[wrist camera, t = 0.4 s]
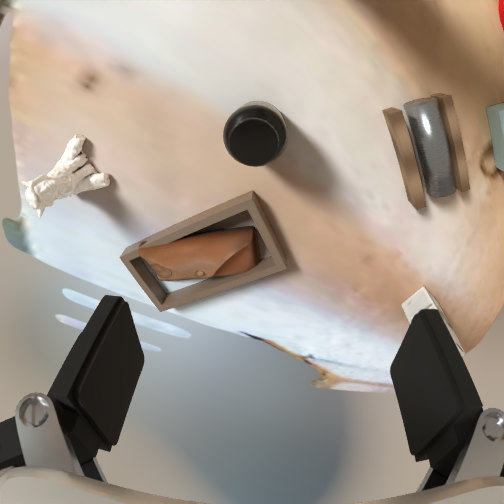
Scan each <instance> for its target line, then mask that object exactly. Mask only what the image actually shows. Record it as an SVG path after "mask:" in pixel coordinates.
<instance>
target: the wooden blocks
mask: <svg viewBox="0 0 504 504" xmlns="http://www.w3.org/2000/svg"><path fill="white" fill-rule="evenodd" d="M431 98H436V99H437V101H438V104H439V108H440V112H441V115H442V119H443V123H444V127H445V131H446V135H447V140H448V144H449V149H450V154H451V159H452V164H453V169H454V175H455V181H456V187H457V188H458V189H459V190H460V191H461V192H464V191H467V190H469V189H470V185H469V178H468V171H467V165H466V159H465V153H464V148H463V143H462V138H461V133H460V129H459V124H458V120H457V116H456V112H455V108H454V104H453V100H452V97H451V96H450V95H446V94H441V93H438V94H434V95H431ZM382 111H383V114H384V117H385V120H386V123H387V126H388V129H389V132H390V135H391V138H392V141H393V145H394V148H395V151H396V155H397V158H398V162H399V165H400V169H401V173H402V177H403V181H404V184H405V188H406V193H407V197H408V200H409V201H410V202H411V204H412V205H413V206H414V207H415V208H416V209H417V210H418V209H421V208H423V207H426V203H425V198H424V193H423V188H422V183H421V179H420V175H419V170H418V166H417V162H416V158H415V154H414V151H413V147H412V143H411V140H410V136H409V133H408V129H407V126H406V123H405V119H404V116H403V113H402V110H399V109H396V108H393V107H391V108H388V109H385V110H382Z"/></svg>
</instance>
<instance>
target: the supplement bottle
mask: <svg viewBox="0 0 504 504" xmlns="http://www.w3.org/2000/svg"><path fill="white" fill-rule="evenodd" d="M287 138H288V133H287V127H286V124H285V122H284V119H283V117H282V115H281V113H280V112H279V111H278V109H277V108H275V107H274V106H273V105H271V104H269V103H266V102H262V101H253V102H249V103H247V104H245V105H243V106H241V107H240V108H239V109H237V110H236V111H235V112H234V113H233V114H232V115H231V116H230V117H229V119H228V120H227V122H226V124H225V127H224V132H223V139H224V144H225V147H226V149H227V151H228V152H229V154H230V155H231V156H232V157H233V158H234V159H235V160H236V161H238V162H240V163H242V164H244V165H247V166H254V167H258V166H264V165H267V164H270V163H272V162H273V161H275V160H276V159H277V158H278V157H279V156H280V155H281V154H282V153H283V151H284V149H285V147H286V144H287Z"/></svg>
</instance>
